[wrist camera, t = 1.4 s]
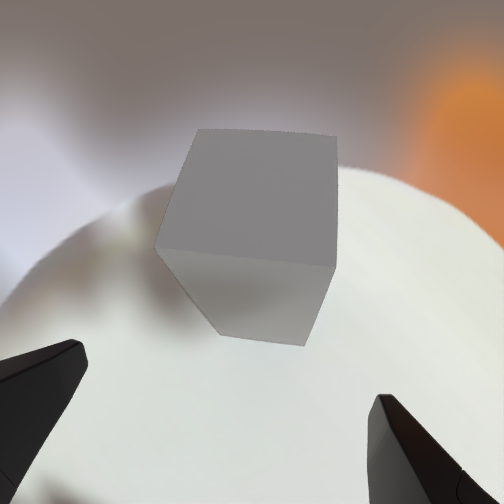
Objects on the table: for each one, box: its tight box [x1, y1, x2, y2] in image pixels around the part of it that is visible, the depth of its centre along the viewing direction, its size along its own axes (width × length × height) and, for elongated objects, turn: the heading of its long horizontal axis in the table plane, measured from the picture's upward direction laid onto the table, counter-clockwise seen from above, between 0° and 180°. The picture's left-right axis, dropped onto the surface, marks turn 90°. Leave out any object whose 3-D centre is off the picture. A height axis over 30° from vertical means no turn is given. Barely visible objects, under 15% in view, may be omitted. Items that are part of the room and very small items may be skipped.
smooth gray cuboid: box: [153, 129, 338, 346], centre depth 17 cm, size 6×6×13 cm
